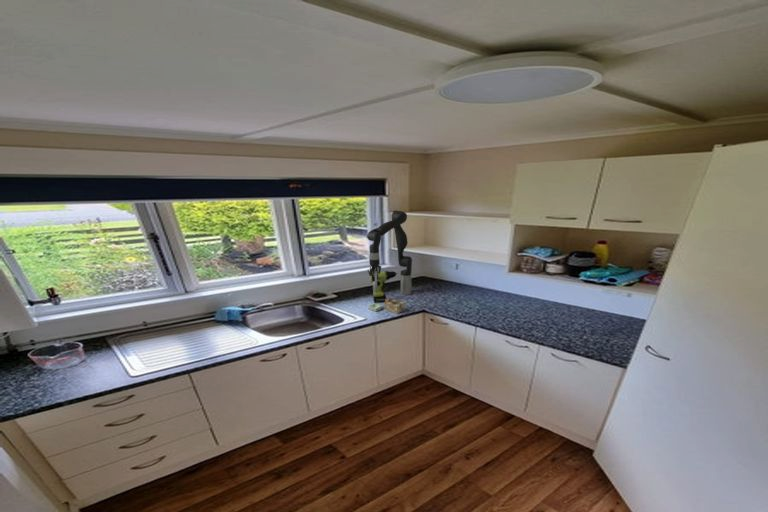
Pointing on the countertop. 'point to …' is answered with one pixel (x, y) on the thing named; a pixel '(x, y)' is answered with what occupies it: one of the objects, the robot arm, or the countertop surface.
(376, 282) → the steel bit
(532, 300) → the countertop surface
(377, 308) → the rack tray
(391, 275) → the cordless drill
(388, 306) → the socket block
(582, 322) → the countertop surface
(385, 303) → the drift key
